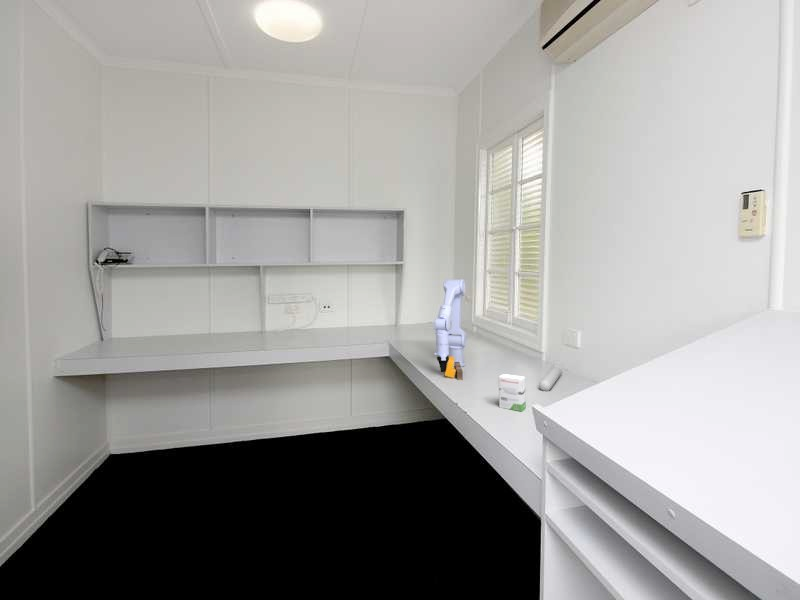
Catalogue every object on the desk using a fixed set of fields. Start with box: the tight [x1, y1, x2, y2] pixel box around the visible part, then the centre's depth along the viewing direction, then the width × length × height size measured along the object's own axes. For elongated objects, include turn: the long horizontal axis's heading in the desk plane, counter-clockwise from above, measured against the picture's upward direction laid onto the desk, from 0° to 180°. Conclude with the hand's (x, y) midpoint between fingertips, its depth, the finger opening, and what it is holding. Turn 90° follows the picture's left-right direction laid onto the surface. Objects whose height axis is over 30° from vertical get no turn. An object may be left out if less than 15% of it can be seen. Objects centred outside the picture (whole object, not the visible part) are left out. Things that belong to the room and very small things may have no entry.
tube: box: [538, 364, 563, 392], centre depth 174 cm, size 5×5×25 cm
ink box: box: [498, 373, 527, 412], centre depth 147 cm, size 9×5×12 cm, turn 54°
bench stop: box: [453, 362, 464, 381], centre depth 191 cm, size 16×2×4 cm, turn 177°
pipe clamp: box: [444, 355, 456, 379], centre depth 192 cm, size 12×4×6 cm, turn 170°
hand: (443, 371), depth 192 cm, fingers closed
